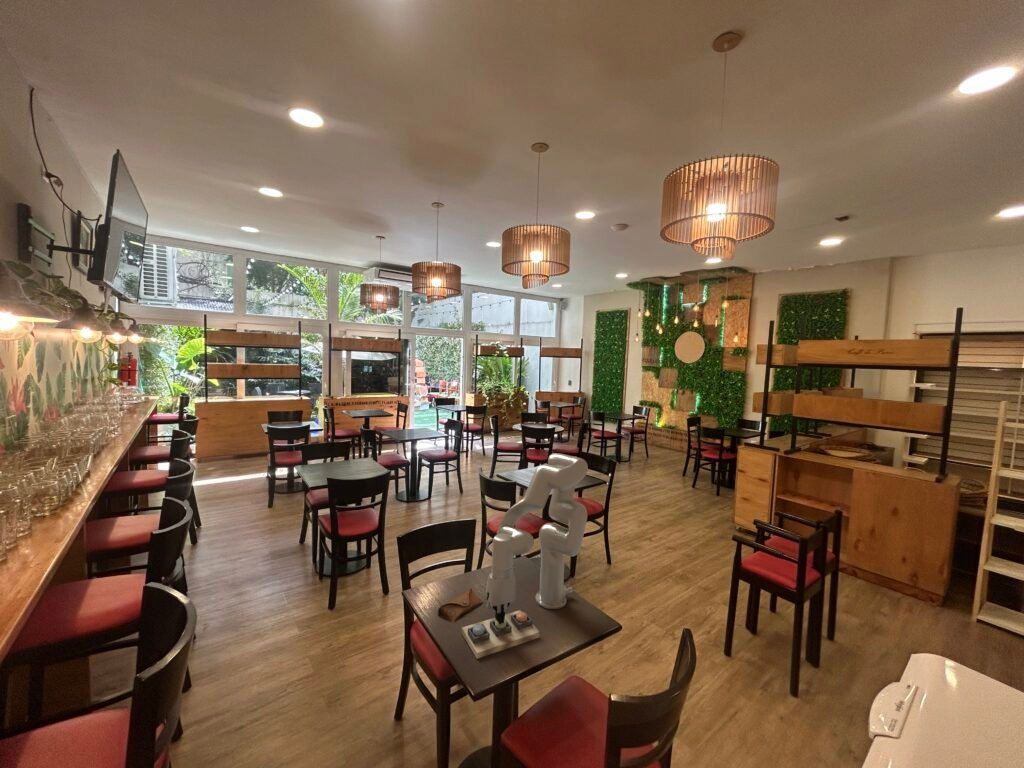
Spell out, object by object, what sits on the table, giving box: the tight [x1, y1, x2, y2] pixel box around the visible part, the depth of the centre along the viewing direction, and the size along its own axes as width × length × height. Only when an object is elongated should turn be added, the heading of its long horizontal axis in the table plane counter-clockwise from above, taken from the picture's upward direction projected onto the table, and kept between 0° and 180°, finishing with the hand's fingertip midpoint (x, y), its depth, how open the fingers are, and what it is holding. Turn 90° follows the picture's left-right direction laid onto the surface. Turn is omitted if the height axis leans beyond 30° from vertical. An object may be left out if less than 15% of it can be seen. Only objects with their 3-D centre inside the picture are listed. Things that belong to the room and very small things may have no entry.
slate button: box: [473, 625, 485, 637], centre depth 143 cm, size 4×4×2 cm
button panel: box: [461, 609, 541, 659], centre depth 147 cm, size 24×14×4 cm, turn 118°
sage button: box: [495, 619, 506, 630], centre depth 147 cm, size 4×4×2 cm
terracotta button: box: [516, 611, 528, 623], centre depth 151 cm, size 4×4×2 cm
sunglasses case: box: [437, 588, 485, 623], centre depth 162 cm, size 18×7×7 cm, turn 142°
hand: (499, 621), depth 146 cm, fingers closed
